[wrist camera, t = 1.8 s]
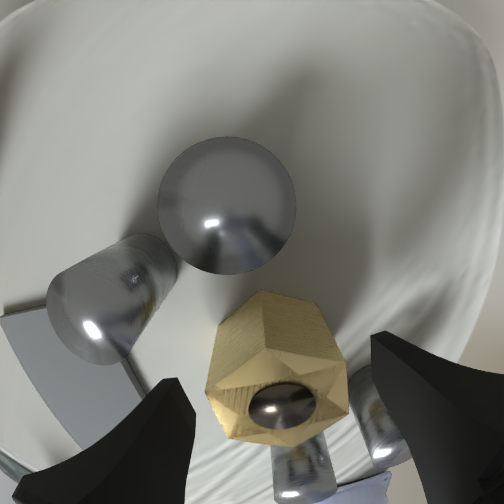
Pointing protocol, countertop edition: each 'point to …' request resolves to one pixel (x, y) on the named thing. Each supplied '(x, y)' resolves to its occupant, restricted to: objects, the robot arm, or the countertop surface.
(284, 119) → the countertop surface
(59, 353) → the mat
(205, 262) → the cylinder
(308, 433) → the nut
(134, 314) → the cylinder
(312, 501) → the cylinder
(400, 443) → the cylinder
